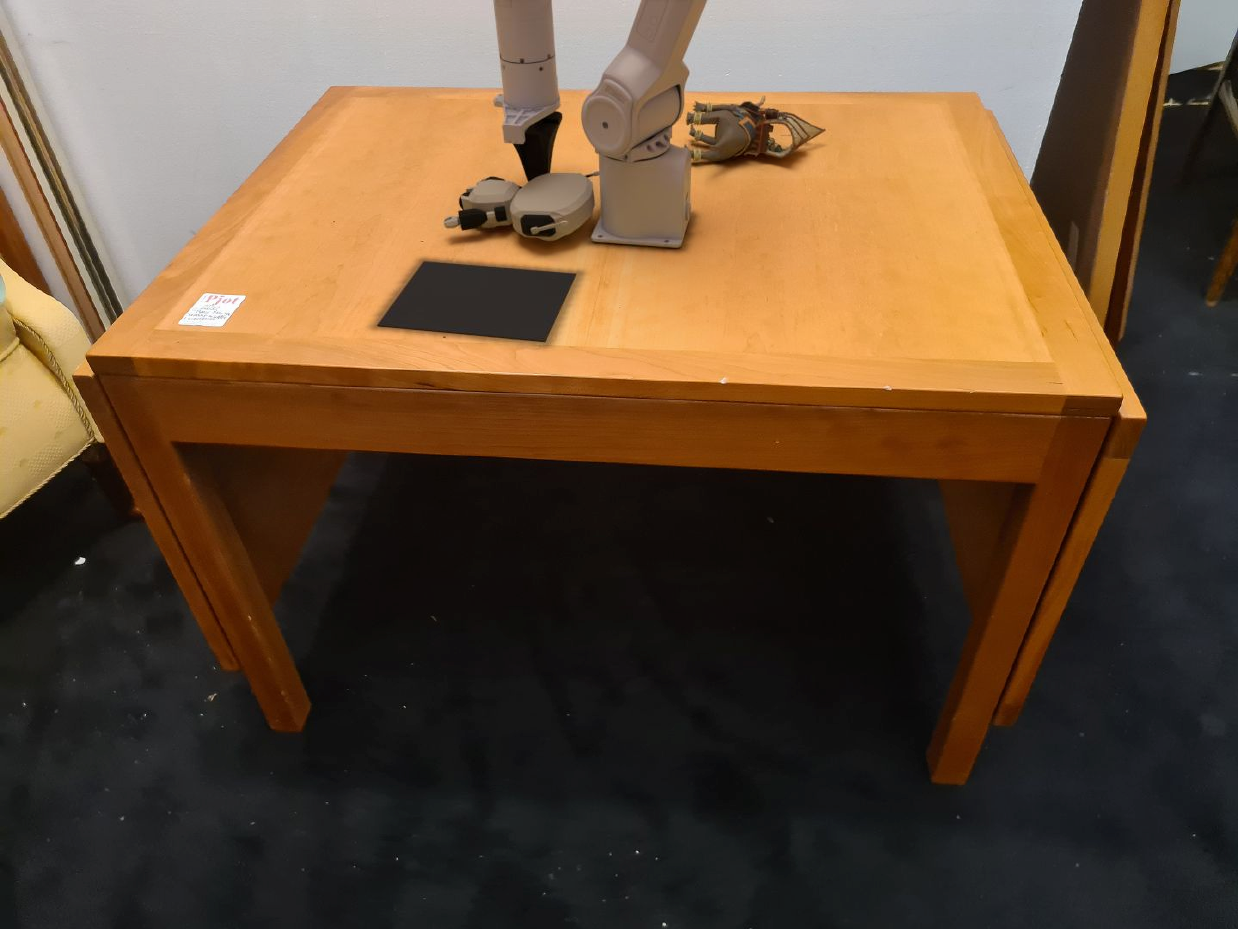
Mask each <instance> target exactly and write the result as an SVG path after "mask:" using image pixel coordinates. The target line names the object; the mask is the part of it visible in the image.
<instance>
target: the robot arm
mask: <svg viewBox="0 0 1238 929" xmlns="http://www.w3.org/2000/svg"><path fill="white" fill-rule="evenodd" d="M492 1H493V12H494V19H495V30H496V39H497V48H498V55H499V56H498V57H499V65H500V75H501V84H502V85H501V86H502V93H499V94H497V95H496V96H495V97H494V98H493V106H494V107H496V108H502V110H503V117H504V121H503V122H502V125H501V126H502V127H501V128H502V136H503V143H504V144H512V145H513V147H514V149H515V150H516V153H517V155H518V157H519V160H520V163H521V166H522V170H523V172H524V175H525V178H526V180H527V183H528V182H529V181H531V180H532V179H534V178H536V177H538V176H541V175H544V174H547V173H551V168H552V160H553V152H554V147H555V146H554V145H555V141H556V138H557V134H558V131H559V128H560V125H561V124H562V121H563V113H562V112H561V111H558V110H559V109H560V108H561V105H562V104H561V95H560V92H559V82H558V81H559V78H558V74H557V72H558V71H557V58H556V56H557V55H556V45H555V44H556V43H555V30H554V27H555V26H554V13H553V0H492ZM707 2H708V0H641V1H640V2H639V6H638V9H637V11H636V14H635V17H634V20H633V23H632V26H631V28H630V31H629V35H628V36H627V40H626V43H625V45H624V47H623V48H622V49H621V50H620V51H619V53H618V54H617V55H616V56H615V57H614V58H613V60H611V62H610V63H609V65H608V66H607V67H606V69H604V71H603V72H602V75H601V78H600V81H599V83H598V85H597V87H596V88H595V89H594V90H592V91H591V92H590V93H589V94H588V95H587V96H586V97H585V98H584V100H583V103H582V105H581V110H580V119H581V125H582V129H583V132H584V135H585V137H586V139H587V140H588V142H589V144H590V145H591V146H592V147H593V148H594V153H595V154H597V155H598V171H599V176H598V179H599V202H600V216H599V219H598V220H597V223H596V225H595V227H594V229H593V231H592V233H591V236H590V240H591V241H592V242H597V243H610V244H620V245H621V244H623V245H636V246H647V247H648V246H650V247H662V248H675V249H677V248H681V247H682V244H683V242H684V237H685V235H686V234H685V233H686V230H687V228H688V224H689V221H690V218H691V213H692V204H691V189H692V188H691V187H692V158H691V151H692V149H691V148H689V147H688V148H689V149H688V148H684V146H683V147H681V146H679V145H675V144H673V143H671V139H672V138H673V126H675V125H676V124H677V123H678V122H679V120H680V119H681V117H682V115H683V114H684V113H683V112H684V109H685V90H686V89H685V88H686V84H687V81H688V78H689V76H690V73H691V72H690V69H689V68H688V66H687V64H686V63H685V62H684V58H685V55H686V53H687V50H688V48H689V45H690V43H691V41H692V38H693V37H694V34H695V31H696V30H697V26H698V24H699V21H700V19H701V16H702V14H703V12H704V10H705V8H706V5H707Z"/></svg>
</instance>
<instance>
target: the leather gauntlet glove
mask: <svg viewBox="0 0 1238 929" xmlns="http://www.w3.org/2000/svg"><path fill="white" fill-rule="evenodd" d="M765 102H766V95H762V96H761V99H760V100H759V102H757V103H754V102H752V101H750V100H745V101H743V102H742V103H740V104H735V103H730V104H725V103H721V104H712V103H711V101H709V102H706V103H701V102H698V101H696V100H694V103H695V104H693V105H692V107H693V108H692V109H691V110H692V111H693V113H692V112H690V111H687V112H686V118H685V122H686V123H685V124H686V126H689V125H690V130H689V132H688V136H691V137H692V138H693V139H694V140H695V142H703V143H704V144H706V145H709V146H708V148H709V150H706V151H705V150H701V149H700V148H698V147H696V148H693V149H692V150H691V160H692V162H695V163H697V162H699V161H701V160H703V161H713V162H723V161H725V160H728V159H729V158H731V157H734V158H736V157H738V156H740V155H741V154H743V153H744V152H745V151H746V150H747V151H746V152H745V153H744V156H746V155H754V157H757V156H758V155H761V154H764V155H766V156H771V157H773V158H778V159H784V158H786V157H787V156H789V155H790V154H791V153H793V152H795V151H796V150H798V149H799V148H800V147H802V146H803V145H804V144H806V143H808V142H809V141H811V140H813V139H815V138H816V137H819V135H821V134H823V133H825V132H826V128H822V127H819V126H817V125H814V124H812V123H810V122H808V121H807V120H804V119H803V118H802V117H800V116H798V115H796V114H794V113H792V112H789V111H779V109H776V108H774V107H773V108H770V107H768V108H766V107H761V106H764V104H765ZM704 125H715V127H714V136H712V135H707V134H705V133H704V132H703V131H702V129H695V127H694V126H704ZM774 125H783V126H785V127H786V128H787V129H788V131H789V133H790V134H781V137H791V140H792V142H791V145H790V146H787V147H786V146H785V147H784V148H783V147H782V145H781V144H779V143H777V142H776V139H775V138H774V137H771V135H770V133H774V129H775V128H774ZM750 147H752V148H750ZM683 148H688V149H690V148H689V146H687V143H684V144H683ZM749 148H750V149H749ZM748 149H749V150H748Z"/></svg>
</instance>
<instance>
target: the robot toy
mask: <svg viewBox="0 0 1238 929" xmlns="http://www.w3.org/2000/svg"><path fill="white" fill-rule="evenodd" d="M591 177H599V170H596V171H594V172H592V173H587V174H582V173H581V172H550V173H547V174H544V175H541V176H538V177H536V178H534V179H532V180H531V181H529V182H528V181H527V182H526V183H525V184H524V185H523V186H521V185H518V184H517V183H515V181H510V180H506V179H504V178H501V177H499V176H495V175H492V176H488V177H484V178H483V179H481V180H479V181H477V182H476V185H473V186H469V187H467V188H466V189H465V191H464V192H463V193H462V194H460V196H459V198H458V205H459V208H460V209H461V210H460V209H459V210H458V211H457V214H458V215H457V216H456V215H448V216H445V217H444V219H443V226H444V228H446V229H456V228H457V227H459V226H460V229H461V231H468V230H474V229H479V228H480V227H482V228H483V229H495V228H496V227H498V226H499V227H500V226H511V224H512V228H513V229H514V230H515V232H517V234H520V235H521V236H523V237H525V238H538V239H539V240H543V241H546V242H554V241H557V240H559V239H561V238H563V237H566V236H567V235H570V234H572V233H574V232H575V231H577V230H578V229H579V228H580V227H582V225H584V223H586V221H587V220H588V219H589V218H590V217H591V216H592V215H593V213H594V209H595V207H596V200H595V191H594V184H593V182H592V181H591V179H590V178H591Z"/></svg>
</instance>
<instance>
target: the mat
mask: <svg viewBox="0 0 1238 929" xmlns="http://www.w3.org/2000/svg"><path fill="white" fill-rule="evenodd" d="M576 275H577V273H575V272H564V271H563V272H562V271H552V270H551V271H549V270H538V269H525V268H513V267H502V266H501V267H500V266H489V265H477V264H467V263H466V264H465V263H464V264H463V263H451V262H440V261H428V260H423V262H422V263H421V264H420V265H419V267H418V268H417V270H416V271H415V272H414V273H413V275H412V276H411V277H410V279H409V280H408V282H407V283H406V285H405V286H404V287H403V289H402V290H401V291H400V293H399V294H398V296H397V297H396V298H395V300H394V301H393V302H392V304H391V305H390V307H389V308H388V309H387V311H386V312H385V313H384V315H383V316H382V318H381V319H380V320H379V322H378V323H377V327H386V328H394V329H395V328H397V329H406V330H416V331H417V330H418V331H429V332H436V333H437V332H438V333H449V334H459V335H470V336H481V337H492V338H502V339H512V340H513V339H514V340H520V341H521V340H522V341H533V342H544V343H545V342H547V339H548V336H549V335H550V332H551V330H552V328H553V326H554V324H555V321H556V319H557V317H558V315H559V313H560V310H561V308H562V306H563V304H564V302H565V299H566V298H567V295H568V293H569V291H570V288H571V286H572V284H573V282H574V280H575V278H576Z"/></svg>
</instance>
